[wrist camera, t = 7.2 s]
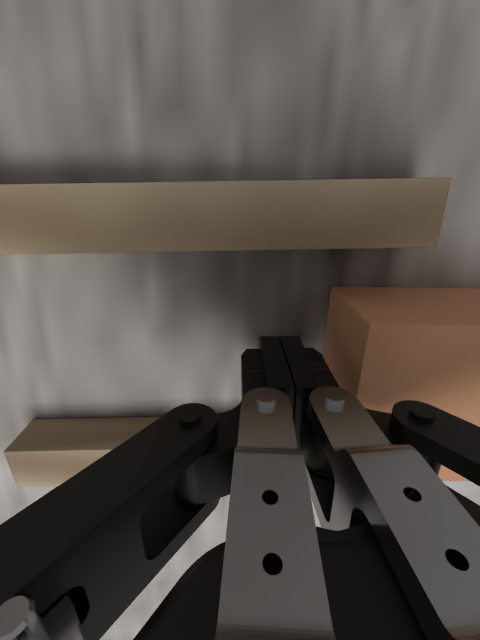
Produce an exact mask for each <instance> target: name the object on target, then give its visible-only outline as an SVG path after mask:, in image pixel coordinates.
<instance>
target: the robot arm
mask: <svg viewBox="0 0 480 640" xmlns="http://www.w3.org/2000/svg"><path fill="white" fill-rule="evenodd" d="M241 381H242V400H241V402H240V404H239V405H238V406H237V407H235V408H234V409H232V410H230V411H228V412H224V413H221V414H217V415H216V413H215V412H214V410H213V409H212V408H210V407H209V406H206V405H203V404H198V403H190V404H184V405H181V406H178V407H176V408H174V409H172V410H171V411H169V412H168V413H166V414H165V415H163V416H162V417H160V418H159V419H157V420H156V421H154V422H153V423H151V424H150V425H148V426H147V427H145V428H144V429H142V430H141V431H139V432H138V433H137V434H135V435H134V436H132V437H131V438H129V439H128V440H126V441H125V442H123V443H122V444H120V445H119V446H117V447H116V448H114V449H113V450H111V451H110V452H108V453H107V454H105V455H104V456H102V457H101V458H99V459H98V460H96V461H95V462H93V463H92V464H90V465H89V466H87V467H86V468H84V469H83V470H81V471H80V472H78V473H77V474H75V475H74V476H72V477H71V478H70V479H68V480H67V481H65V482H64V483H62V484H61V485H59V486H58V487H56V488H55V489H53V490H52V491H50V492H49V493H47V494H46V495H44V496H43V497H41V498H40V499H38V500H37V501H35V502H34V503H32V504H31V505H29V506H28V507H26V508H25V509H23V510H22V511H20V512H19V513H17V514H16V515H14V516H13V517H11V518H10V519H8V520H7V521H5V522H4V523H3V524H1V525H0V640H99V639H100V638H101V637H102V636H103V635H104V634H105V632H106V631H107V630H108V629H109V628H110V627H111V626H112V625H113V623H114V622H115V621H116V620H117V619H118V618H119V617H120V615H121V614H122V613H123V612H124V611H125V610H126V609H127V608H128V606H129V605H130V604H131V603H132V602H133V601H134V600H135V598H136V597H137V596H138V595H139V594H140V593H141V592H142V591H143V589H144V588H145V587H146V586H147V585H148V584H149V583H150V582H151V580H152V579H153V578H154V577H155V576H156V575H157V574H158V572H159V571H160V570H161V569H162V568H163V567H164V566H165V565H166V563H167V562H168V561H169V560H170V559H171V558H172V557H173V555H174V554H175V553H176V552H177V551H178V550H179V549H180V548H181V546H182V545H183V544H184V543H185V542H186V541H187V540H188V539H189V537H190V536H191V535H192V534H193V533H194V532H195V531H196V529H197V528H198V527H199V526H200V525H201V524H202V523H203V522H204V520H205V519H206V518H207V517H208V516H209V515H210V514H211V512H212V511H213V510H214V509H215V508H216V506H217V505H218V503H219V500H220V497H223V496H226V495H229V494H230V501H229V511H228V521H227V531H226V541H225V542H224V543H222V544H219V545H218V546H216V547H214V548H213V549H211V550H210V551H208V552H206V553H205V554H204V555H203V556H201V557H200V558H199V559H198V560H196V561H195V562H194V563H193V564H192V565H191V566H190V567H189V569H188V570H187V571H186V572H185V573H184V574H183V575H182V577H181V578H180V579H179V580H178V582H177V583H176V584H175V586H174V587H173V588H172V590H171V591H170V592H169V593H168V595H167V596H166V597H165V599H164V600H163V601H162V603H161V604H160V605H159V607H158V608H157V609H156V611H155V612H154V613H153V614H152V616H151V617H150V618H149V620H148V621H147V622H146V624H145V625H144V626H143V628H142V629H141V630H140V631H139V633H138V634H137V635H136V637H135V638H134V639H133V640H480V506H479V505H477V504H476V503H474V502H473V501H471V500H469V499H468V498H466V497H464V496H463V495H461V494H459V493H458V492H456V491H454V490H453V489H451V488H449V487H448V486H446V485H445V484H444V483H443V481H442V480H441V479H440V478H439V477H438V474H439V471H440V467H441V465H443V466H445V467H446V468H448V469H450V470H452V471H453V472H455V473H457V474H459V475H460V476H462V477H464V478H466V479H468V480H469V481H471V482H473V483H475V484H476V485H478V486H480V427H479V426H477V425H474V424H472V423H470V422H468V421H465V420H463V419H461V418H459V417H457V416H454V415H452V414H450V413H448V412H445V411H443V410H441V409H439V408H436V407H434V406H432V405H429V404H427V403H424V402H420V401H414V400H404V401H399V402H397V403H395V404H394V406H393V408H392V413H386V412H381V411H375V410H370V409H367V408H364V406H363V405H362V404H361V402H360V401H359V400H358V398H357V397H356V396H355V395H354V394H352V393H351V392H349V391H347V390H345V389H342V388H340V387H339V385H338V383H337V381H336V379H335V378H334V376H333V374H332V372H331V370H329V367H328V365H327V363H326V361H325V359H324V358H323V356H322V354H321V353H319V352H318V351H316V350H315V349H314V348H304V347H303V344H302V342H301V340H300V338H299V336H260V337H259V349H246V350H245V351H244V353H243V354H242V355H241ZM310 495H311V496H310ZM311 498H312V501H313V504H314V507H315V510H316V513H317V516H318V519H319V522H320V525H321V528H320V527H316V526H315V520H314V514H313V508H312V502H311Z"/></svg>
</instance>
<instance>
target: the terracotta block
mask: <svg viewBox="0 0 480 640" xmlns="http://www.w3.org/2000/svg"><path fill="white" fill-rule="evenodd" d="M322 356H323V358H324V359H325V361H326V363H327V365H328V367H329V370H331V372H332V374H333V376H334V378H335V379H336V381H337V383H338V385H339V387H340V388H342V389H345V390H347V391H349V392H351V393H352V394H354V395H355V396H356V397H357V398H358V400H359V401H360V402H361V404H362V405H363V406H364V408H367V409H370V410H375V411H381V412H386V413H392V408H393V406H394V404H395V403H397V402H399V401H404V400H414V401H420V402H424V403H427V404H429V405H432V406H434V407H436V408H439V409H441V410H443V411H445V412H448V413H450V414H452V415H454V416H457V417H459V418H461V419H463V420H465V421H468V422H470V423H472V424H474V425H477V426H479V427H480V288H421V287H331V293H330V301H329V309H328V316H327V324H326V332H325V340H324V348H323V355H322ZM438 477H439V478H440V479H441V480H442V481H469V480H468V479H466V478H464V477H462V476H460V475H459V474H457V473H455V472H453V471H452V470H450V469H448V468H446V467H445V466H443V465H441V467H440V471H439V474H438Z"/></svg>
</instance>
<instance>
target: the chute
mask: <svg viewBox="0 0 480 640" xmlns="http://www.w3.org/2000/svg"><path fill="white" fill-rule="evenodd" d="M450 182H451V178H388V179H323V180H259V181H194V182H129V183H64V184H0V254H57V253H118V252H178V251H239V250H299V249H360V248H420V247H436V246H437V242H438V237H439V232H440V228H441V223H442V219H443V214H444V210H445V205H446V201H447V196H448V191H449V187H450ZM159 418H160V417H117V418H65V419H33V420H32V421H31V422H30V423H29V424H28V426H27V427H26V428H25V429H24V430H23V431H22V432H21V433H20V434H19V435H18V437H17V438H16V439H15V440H14V441H13V442H12V443H11V444H10V445H9V446H8V448H7V449H6V450H5V451H4V454H5V457H6V459H7V462H8V464H9V467H10V469H11V472H12V475H13V477H14V480H15V482H16V485H17V487H53V486H59V485H61V484H62V483H64V482H65V481H67V480H68V479H70V478H71V477H72V476H74V475H75V474H77V473H78V472H80V471H81V470H83V469H84V468H86V467H87V466H89V465H90V464H92V463H93V462H95V461H96V460H98V459H99V458H101V457H102V456H104V455H105V454H107V453H108V452H110V451H111V450H113V449H114V448H116V447H117V446H119V445H120V444H122V443H123V442H125V441H126V440H128V439H129V438H131V437H132V436H134V435H135V434H137V433H138V432H139V431H141V430H142V429H144V428H145V427H147V426H148V425H150V424H151V423H153V422H154V421H156V420H157V419H159Z"/></svg>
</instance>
